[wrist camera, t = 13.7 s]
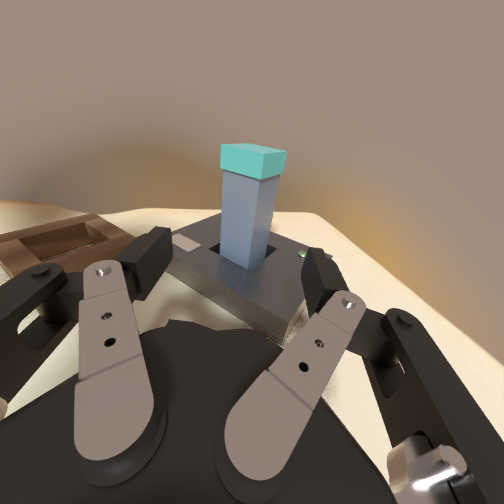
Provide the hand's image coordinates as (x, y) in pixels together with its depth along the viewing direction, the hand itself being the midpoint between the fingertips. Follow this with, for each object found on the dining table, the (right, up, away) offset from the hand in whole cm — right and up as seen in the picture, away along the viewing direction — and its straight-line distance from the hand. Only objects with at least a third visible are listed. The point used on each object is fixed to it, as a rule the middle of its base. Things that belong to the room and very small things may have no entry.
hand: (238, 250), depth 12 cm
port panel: (0, -2, +14) cm, 15 cm away
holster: (-20, -1, +12) cm, 23 cm away
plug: (-1, -2, +14) cm, 14 cm away
